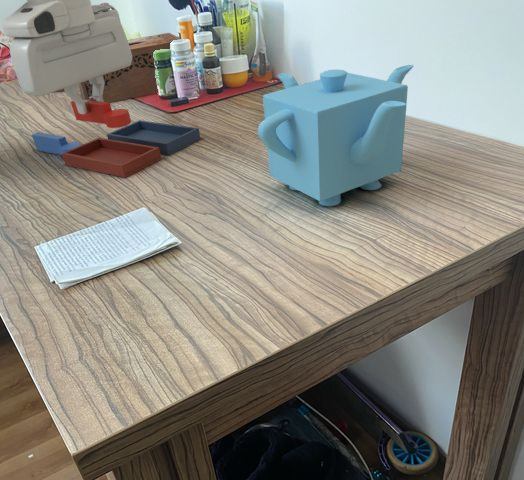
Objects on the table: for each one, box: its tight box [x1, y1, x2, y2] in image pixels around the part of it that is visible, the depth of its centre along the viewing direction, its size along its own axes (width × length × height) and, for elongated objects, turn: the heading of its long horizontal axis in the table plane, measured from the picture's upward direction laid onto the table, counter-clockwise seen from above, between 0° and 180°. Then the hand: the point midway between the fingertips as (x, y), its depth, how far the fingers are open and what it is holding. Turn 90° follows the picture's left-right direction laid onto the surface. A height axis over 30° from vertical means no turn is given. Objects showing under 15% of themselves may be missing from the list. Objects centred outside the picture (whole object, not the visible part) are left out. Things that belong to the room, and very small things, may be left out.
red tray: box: [61, 137, 162, 178], centre depth 89 cm, size 16×9×2 cm, turn 55°
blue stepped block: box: [31, 131, 83, 156], centre depth 96 cm, size 12×4×3 cm, turn 55°
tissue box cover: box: [78, 32, 181, 104], centre depth 126 cm, size 26×14×10 cm, turn 112°
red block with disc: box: [70, 100, 132, 129], centre depth 84 cm, size 12×4×3 cm, turn 54°
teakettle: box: [257, 64, 415, 207], centre depth 68 cm, size 19×19×15 cm
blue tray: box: [106, 120, 202, 156], centre depth 95 cm, size 16×9×2 cm, turn 55°
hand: (92, 110), depth 85 cm, fingers closed on red block with disc
